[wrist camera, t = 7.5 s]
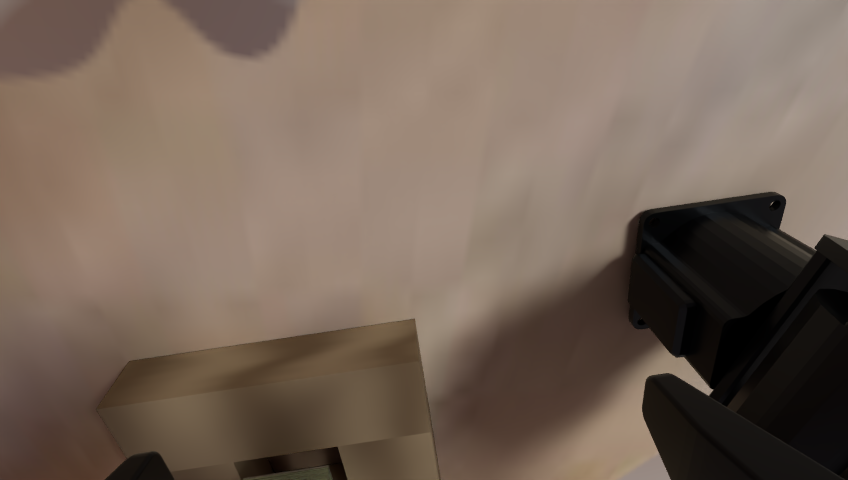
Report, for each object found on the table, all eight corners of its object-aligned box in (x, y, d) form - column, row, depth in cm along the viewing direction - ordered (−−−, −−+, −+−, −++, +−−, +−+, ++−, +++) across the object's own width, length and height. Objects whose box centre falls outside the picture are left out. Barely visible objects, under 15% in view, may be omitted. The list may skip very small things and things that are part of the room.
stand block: (414, 319, 23) (419, 369, 20) (443, 496, 29) (450, 555, 26) (129, 361, 23) (89, 418, 20) (221, 530, 29) (202, 594, 26)
